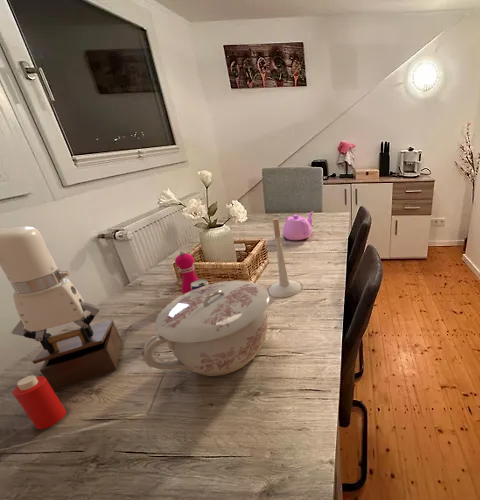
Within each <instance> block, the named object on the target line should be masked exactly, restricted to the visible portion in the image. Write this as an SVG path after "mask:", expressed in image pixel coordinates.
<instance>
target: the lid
mask: <svg viewBox="0 0 480 500" xmlns="http://www.w3.org/2000/svg"><path fill="white" fill-rule="evenodd" d="M113 322H114V319H109V320H106V321H103V322H99V323H95V324H93V325H90V327H91V329H92V331H93V336H92V337H91V340H90V342H86V341H85V340H84V338H83V336H82V334H81V332H80V329H81V327H79V328H74V329H72V330H68V331H65V332H61V333H57V334H54V335H52V336H50V337H48V342H49V343H50V344H52V345H53V348H54V350H55V351H54V352H53V353H51V354H49V352H48V350H45V349H44V348H43V349H42V350H41V351H40V352H39V354H37V356H36V357H35V358H34V359H32V364H33V365H35V364H39V363H42V362H45V361H46V360H49V359H52V358H55V357H59V356H62V355H65V354H68V353H72V352H75V351H78V350H81V349H85V348H88V347H91V346H94V345H98V344H101V343H103V341H104V339H105V337H106V335H107V333H108V332H109V330H110V328H111V326H112V324H113Z"/></svg>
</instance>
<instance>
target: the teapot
mask: <svg viewBox="0 0 480 500" xmlns="http://www.w3.org/2000/svg"><path fill="white" fill-rule="evenodd" d="M314 212H315V211H314V210H312V211H310V212H309V213H308V217H307V218H305V216H303V215H302V216H301V215H299V214H292V216H286V218H285V223H284V224H283V227H282V228H283V229H282V236H283V237H285V238H286V239H287V240H290V241H302V240H306V239H308V238H309V237H310V236H311V235H312V233H313V229H312V226H313V214H314Z"/></svg>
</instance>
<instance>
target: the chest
mask: <svg viewBox="0 0 480 500" xmlns="http://www.w3.org/2000/svg"><path fill="white" fill-rule="evenodd" d="M120 335H121V334H120V333H119V331H118V329H117V327H116V323H115V322H114V321H113V324H112V326H111V328H110V330H109V332H108V333H107V335H106V337H105V339H104V341H103V343H101V344H98V345H94V346H91V347H88V348H85V349H81V350H78V351H75V352H72V353H68V354H65V355H62V356H59V357H55V358H52V359H49V360H46V361H43V364H42V366H41V367H40V370H39V371H40V373H41V375H42V376H43V377H45V378H46V379H47V381H48V383H49V384H50V386H51V387H52V389H53V391H54V392H57V391H60V390H62V389H65V388H68V387H71V386H73V385H74V386H75V385H77V384H80V383H82V382H85V381H88V380H91V379H94V378H97V377H99V376H102V375H103V376H104V375H105V374H108V373H111V372H114V371H116V370H117V368H118V363H119V358H120V354H121V347H122V337H121V336H120Z"/></svg>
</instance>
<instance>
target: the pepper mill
mask: <svg viewBox="0 0 480 500" xmlns="http://www.w3.org/2000/svg"><path fill="white" fill-rule="evenodd" d="M174 261H175V262H174V263H175V266H176V267H178V270H179V273H181V276H182V281H181V289H180V290H181V293H182V295H184V294H186V293H188V292H190V291H192V289H191V283H192V282H194V281H196V280H200V279H199V278H198V277H197V275H196V273H195V265H194V263H195V259H194V256H193V255H192V254H190V253H186V251H185V250H182V249H181V250H180V251H179V255H177V256H176V257H175V259H174Z"/></svg>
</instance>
